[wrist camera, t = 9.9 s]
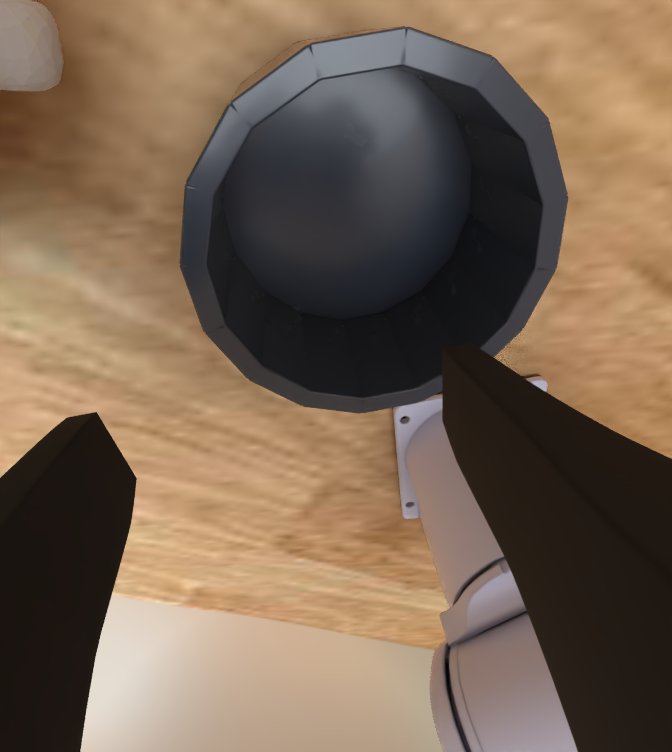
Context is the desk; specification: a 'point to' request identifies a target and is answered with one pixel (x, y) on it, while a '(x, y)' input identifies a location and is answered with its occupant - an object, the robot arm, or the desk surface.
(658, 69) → the desk surface
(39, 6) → the teacup
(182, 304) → the desk surface
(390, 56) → the tin
